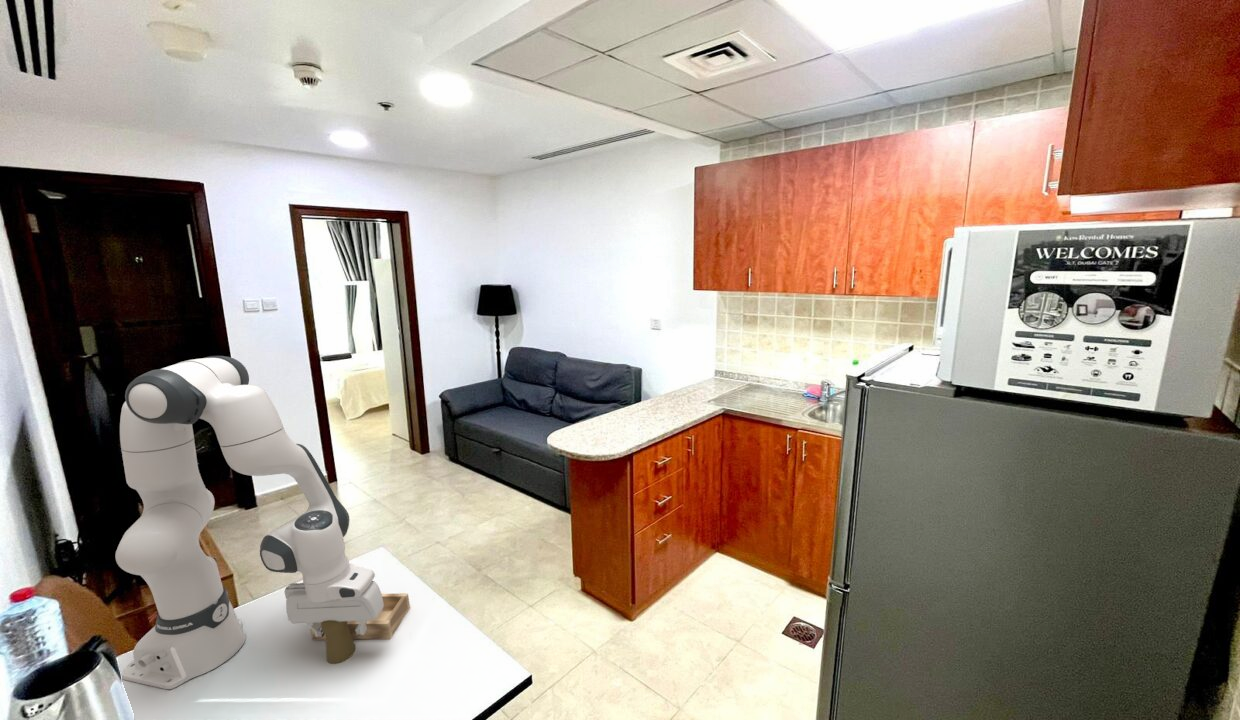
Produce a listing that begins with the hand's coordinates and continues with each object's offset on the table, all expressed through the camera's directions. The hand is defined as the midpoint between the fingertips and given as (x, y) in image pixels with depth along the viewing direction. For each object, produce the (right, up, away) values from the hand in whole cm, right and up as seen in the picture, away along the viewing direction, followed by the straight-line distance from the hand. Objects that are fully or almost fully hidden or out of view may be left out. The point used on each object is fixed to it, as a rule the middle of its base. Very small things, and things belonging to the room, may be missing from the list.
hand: (341, 633), depth 108 cm
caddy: (0, -3, +9) cm, 10 cm away
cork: (0, -6, +1) cm, 6 cm away
